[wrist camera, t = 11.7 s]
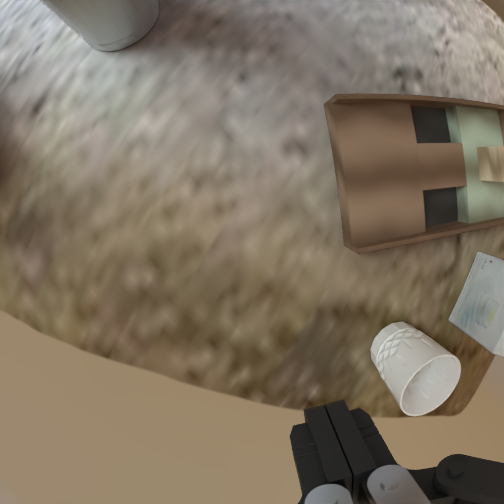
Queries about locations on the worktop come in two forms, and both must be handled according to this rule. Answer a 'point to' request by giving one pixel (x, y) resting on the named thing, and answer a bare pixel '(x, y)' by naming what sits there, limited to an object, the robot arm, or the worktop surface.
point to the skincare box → (483, 304)
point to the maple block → (491, 163)
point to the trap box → (412, 167)
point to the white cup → (414, 368)
